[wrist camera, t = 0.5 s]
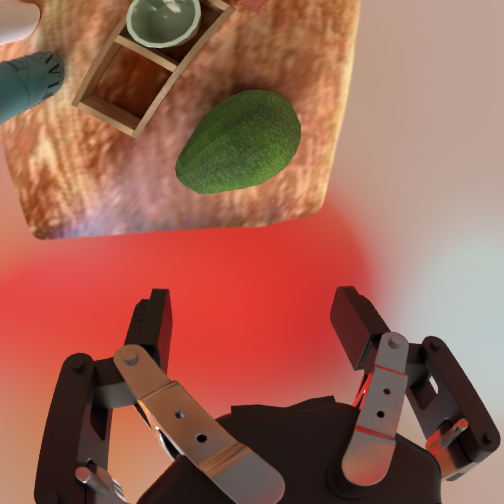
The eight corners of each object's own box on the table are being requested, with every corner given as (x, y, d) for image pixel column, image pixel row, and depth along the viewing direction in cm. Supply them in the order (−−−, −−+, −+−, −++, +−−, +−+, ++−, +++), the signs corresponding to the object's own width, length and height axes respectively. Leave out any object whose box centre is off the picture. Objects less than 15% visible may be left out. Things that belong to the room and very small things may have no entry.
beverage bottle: (67, 98, 26) (-33, 169, 11) (26, 97, 24) (-78, 167, 9) (76, 49, 22) (-35, 79, 7) (33, 50, 20) (-82, 89, 5)
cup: (137, 32, 23) (112, 29, 16) (169, -8, 20) (156, -27, 13) (179, 55, 26) (170, 59, 19) (212, 16, 24) (215, 5, 16)
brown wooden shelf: (85, 96, 27) (70, 105, 23) (167, -23, 19) (162, -32, 16) (144, 127, 31) (137, 139, 28) (231, 13, 24) (236, 9, 20)
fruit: (203, 190, 39) (205, 235, 31) (158, 135, 32) (145, 168, 25) (301, 134, 35) (330, 165, 28) (265, 69, 29) (288, 80, 22)
